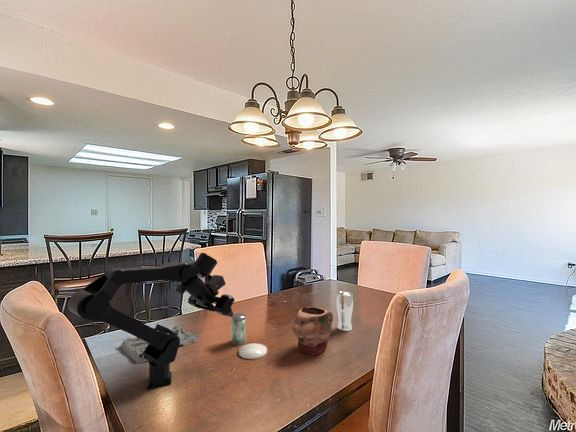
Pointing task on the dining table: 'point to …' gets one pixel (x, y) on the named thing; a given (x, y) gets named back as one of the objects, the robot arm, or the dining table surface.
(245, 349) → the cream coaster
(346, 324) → the beer glass
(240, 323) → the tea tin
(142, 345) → the wall plaque
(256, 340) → the dining table surface
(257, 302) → the dining table surface
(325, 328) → the decorative planter
